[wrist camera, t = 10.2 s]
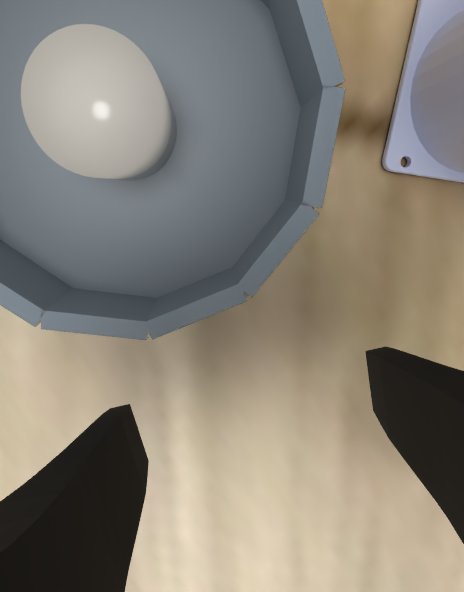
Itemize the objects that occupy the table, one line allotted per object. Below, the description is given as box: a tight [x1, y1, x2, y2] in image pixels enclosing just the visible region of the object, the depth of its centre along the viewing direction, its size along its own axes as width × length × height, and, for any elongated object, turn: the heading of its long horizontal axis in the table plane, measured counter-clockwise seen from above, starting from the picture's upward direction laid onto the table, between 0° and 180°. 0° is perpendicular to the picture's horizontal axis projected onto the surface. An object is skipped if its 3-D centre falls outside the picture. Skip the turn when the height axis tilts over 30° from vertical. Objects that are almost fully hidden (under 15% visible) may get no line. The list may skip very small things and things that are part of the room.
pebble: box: [21, 24, 177, 181], centre depth 15 cm, size 4×4×5 cm
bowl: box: [0, 0, 345, 340], centre depth 16 cm, size 17×17×4 cm
